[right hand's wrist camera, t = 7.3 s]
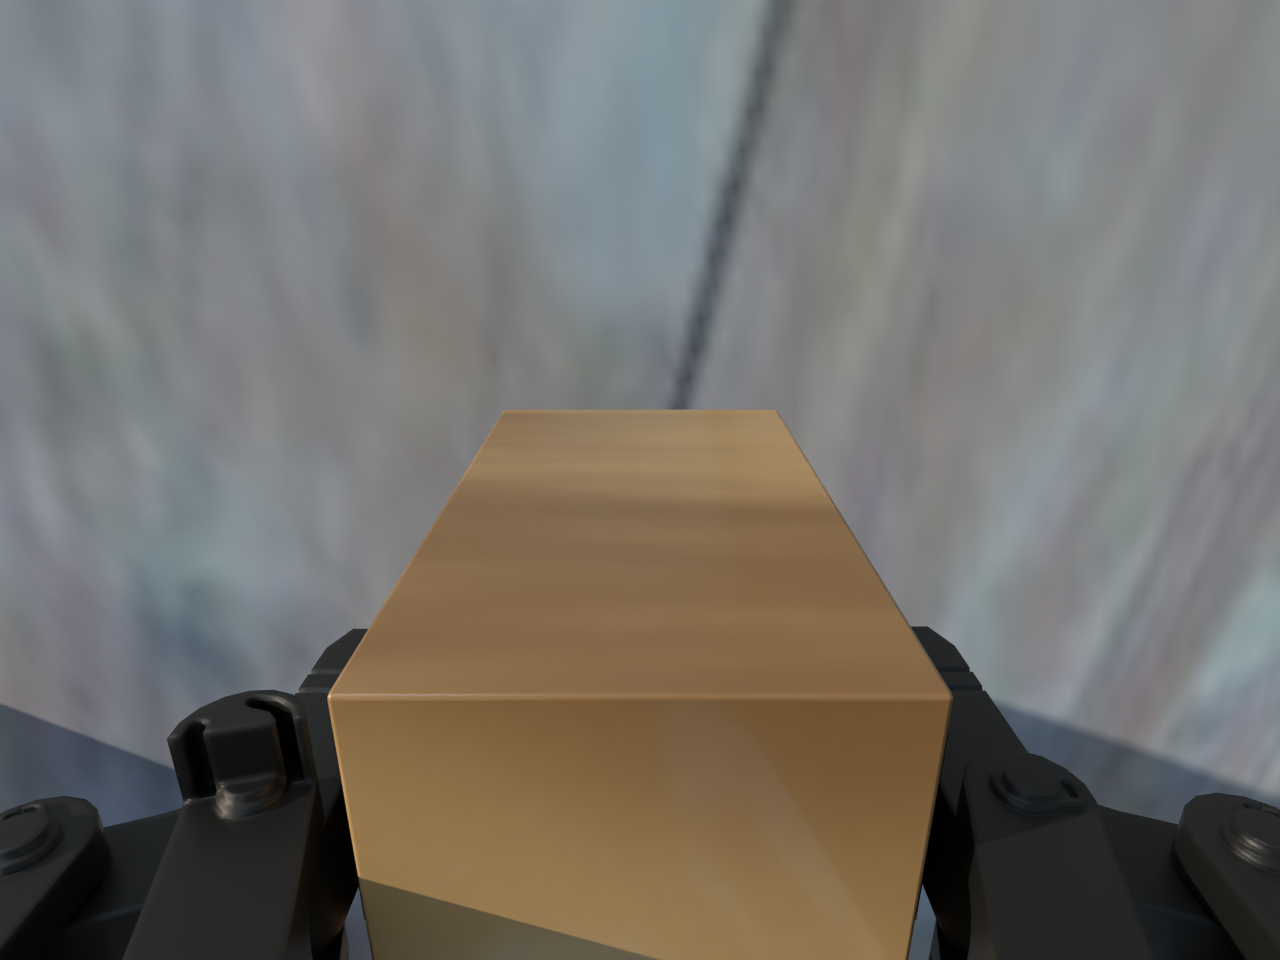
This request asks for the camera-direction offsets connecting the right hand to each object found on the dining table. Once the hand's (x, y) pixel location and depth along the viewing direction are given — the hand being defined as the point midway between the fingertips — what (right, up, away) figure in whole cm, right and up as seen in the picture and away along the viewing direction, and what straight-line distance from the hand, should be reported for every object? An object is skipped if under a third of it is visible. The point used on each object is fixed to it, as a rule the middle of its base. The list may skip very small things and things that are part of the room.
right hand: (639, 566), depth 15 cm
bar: (0, -8, +4) cm, 9 cm away
